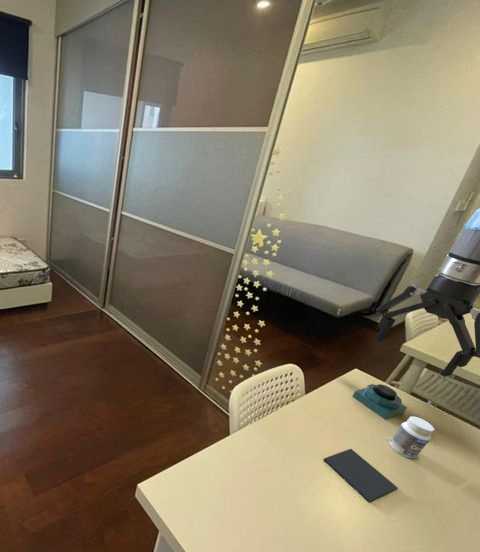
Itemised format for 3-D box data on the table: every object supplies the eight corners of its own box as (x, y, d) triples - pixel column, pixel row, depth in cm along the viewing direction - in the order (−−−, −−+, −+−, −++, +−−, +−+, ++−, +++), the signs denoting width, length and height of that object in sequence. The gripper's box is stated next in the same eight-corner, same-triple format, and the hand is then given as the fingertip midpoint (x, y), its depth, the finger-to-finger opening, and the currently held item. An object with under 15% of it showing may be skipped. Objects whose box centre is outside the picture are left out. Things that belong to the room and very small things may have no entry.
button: (396, 399, 84) (400, 393, 83) (387, 401, 82) (391, 396, 81) (379, 388, 87) (382, 383, 86) (370, 390, 86) (373, 385, 85)
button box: (403, 413, 84) (411, 402, 82) (384, 419, 81) (392, 408, 80) (369, 391, 91) (376, 380, 89) (351, 396, 88) (358, 385, 86)
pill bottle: (407, 460, 70) (427, 434, 67) (383, 442, 75) (402, 416, 71) (421, 457, 72) (442, 430, 68) (397, 438, 76) (416, 413, 72)
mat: (397, 489, 64) (398, 487, 64) (369, 502, 61) (370, 501, 61) (350, 449, 72) (351, 448, 71) (323, 459, 68) (324, 458, 68)
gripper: (385, 258, 79) (347, 329, 88) (541, 308, 58) (471, 396, 67) (402, 257, 82) (364, 326, 91) (557, 305, 61) (488, 389, 70)
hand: (409, 356), depth 79 cm, fingers open, 13 cm apart
